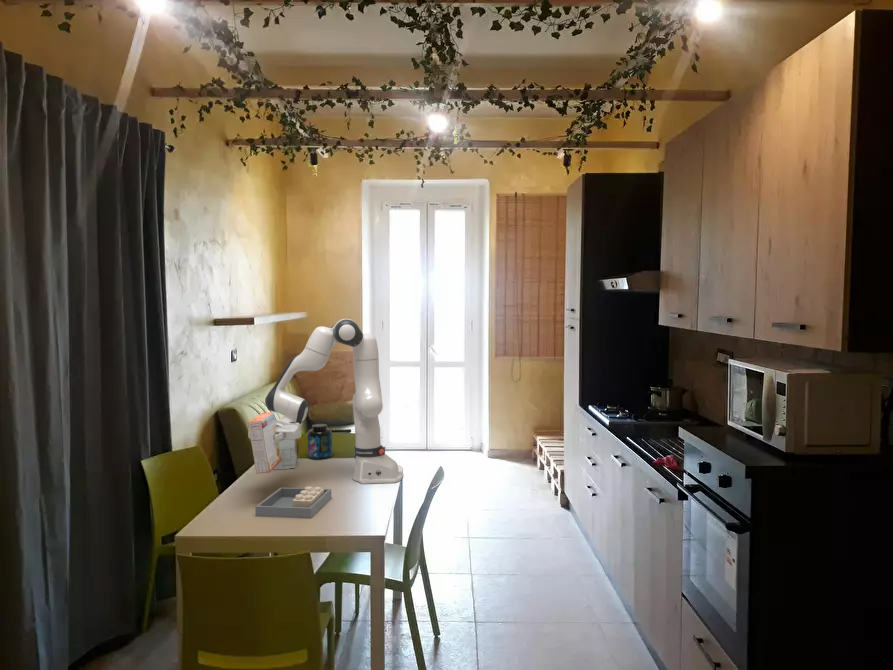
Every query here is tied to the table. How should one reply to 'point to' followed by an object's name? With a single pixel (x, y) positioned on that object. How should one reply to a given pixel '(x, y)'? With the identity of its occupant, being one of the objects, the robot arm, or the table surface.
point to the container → (319, 442)
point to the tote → (289, 504)
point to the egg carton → (308, 496)
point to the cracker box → (264, 442)
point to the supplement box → (287, 454)
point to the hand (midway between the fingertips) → (265, 437)
